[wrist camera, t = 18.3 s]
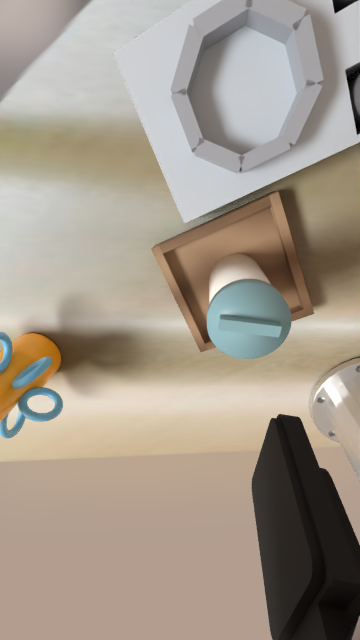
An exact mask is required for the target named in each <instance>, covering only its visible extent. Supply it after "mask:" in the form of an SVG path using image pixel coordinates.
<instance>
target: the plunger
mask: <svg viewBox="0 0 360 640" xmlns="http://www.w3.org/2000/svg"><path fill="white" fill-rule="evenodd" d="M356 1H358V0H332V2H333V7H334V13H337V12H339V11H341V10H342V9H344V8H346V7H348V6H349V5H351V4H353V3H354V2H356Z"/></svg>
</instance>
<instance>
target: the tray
mask: <svg viewBox="0 0 360 640" xmlns="http://www.w3.org/2000/svg"><path fill="white" fill-rule="evenodd" d="M151 250H152V252H153V254H154V256H155V258H156V260H157V262H158V264H159V266H160V268H161V270H162V273H163V275H164V277H165V279H166V281H167V283H168V285H169V287H170V289H171V291H172V293H173V295H174V298H175V300H176V302H177V304H178V306H179V308H180V310H181V312H182V314H183V316H184V318H185V320H186V323H187V325H188V327H189V329H190V331H191V333H192V335H193V337H194V339H195V341H196V343H197V345H198V348H199V350H200V352H203V351H206V350H209V349H212V348H215V347H216V346H215V345H214V343H213V342H212V340H211V339H210V337H209V334H208V330H207V310H208V306H209V276H210V272H211V269H212V267H213V266H214V265H215V263H216V262H217V261H218V260H220V259H221V258H222V257H224V256H227V255H230V254H244V255H247V256H249V257H251V258H252V259H254V260H255V261H256V262H257V264H258V265H259V267H260V268H261V270H262V271H263V273H264V274H265V276H266V277H267V279H268V280H269V282H270V284H271V285H272V286H274V287H275V288H276V289H277V290H278V291H279V292H280V293H281V295H282V296H283V298H284V299H285V301H286V302H287V304H288V306H289V308H290V312H291V321H294V320H297V319H300V318H303V317H306V316H309V315H312V314H314V312H313V308H312V305H311V301H310V298H309V294H308V291H307V288H306V284H305V281H304V277H303V274H302V270H301V267H300V264H299V260H298V257H297V253H296V250H295V246H294V243H293V240H292V236H291V233H290V229H289V226H288V223H287V219H286V216H285V212H284V209H283V205H282V202H281V199H280V195H279V192H278V191H273V192H271V193H269V194H267V195H265V196H262V197H260V198H258V199H256V200H254V201H251V202H249V203H247V204H245V205H243V206H240V207H238V208H236V209H234V210H232V211H229V212H227V213H225V214H223V215H221V216H219V217H216V218H214V219H212V220H210V221H208V222H205V223H203V224H201V225H199V226H197V227H194V228H192V229H190V230H188V231H186V232H183V233H181V234H179V235H177V236H175V237H172V238H170V239H168V240H166V241H164V242H162V243H159V244H157V245H155V246H154V247H153V248H152V249H151Z"/></svg>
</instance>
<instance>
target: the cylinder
mask: <svg viewBox="0 0 360 640" xmlns="http://www.w3.org/2000/svg"><path fill="white" fill-rule="evenodd" d="M0 340H1V341H2V343H3V346H4V349H3V350H2V351H0V435H1V436H2V437H3V438H11V437H13V436H15V435H16V434H17V433H18V432H19V431H20V429H21V428H22V426H23V424H24V421H25V418H28V419H30V420H33V421H39V422H43V421H48V420H51V419H53V418H55V417H56V416H58V415H59V414H60V412H61V410H62V408H63V401H62V399H61V397H60V395H59V394H58V393H56V392H55V391H53V390H51V389H48V388H43V387H44V386H45V384H46V383H47V382H48V381H49V380H50V378H51V377H52V376H53V375H54V373H55V372H56V371H57V370H58V368H59V367H60V364H61V354H60V351H59V349H58V347H57V346H56V345H55V343H53V341H51V340H50V339H49V338H47V337H45V336H43V335H40V334H36V333H28V334H23V335H21V336H19V337H18V338H17V339H15V340H14V341H13V342H11V340H10V338H9V336H8V335H7V334H5V333H3V332H0ZM34 395H46V396H48V397H50V398H51V399H53V401H54V402H55V408H54V409H53V410H52V411H50V412H48V413H36V412H34V411H32V410H30V409H29V407H28V406H27V401H28V399H29V398H30V397H32V396H34ZM16 404H17V405H18V407H19V415H18V419H17V421H16V424H15V425H14V427H13V428H12V429H11V430H8V429H7V417H8V414H9V412H10V411H11V410H12V409H13V408H14V407H15V405H16Z"/></svg>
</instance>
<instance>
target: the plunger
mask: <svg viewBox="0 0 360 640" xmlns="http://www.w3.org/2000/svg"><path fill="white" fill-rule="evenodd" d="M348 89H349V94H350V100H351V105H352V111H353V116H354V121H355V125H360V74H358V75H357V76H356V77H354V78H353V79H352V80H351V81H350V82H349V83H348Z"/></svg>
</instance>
